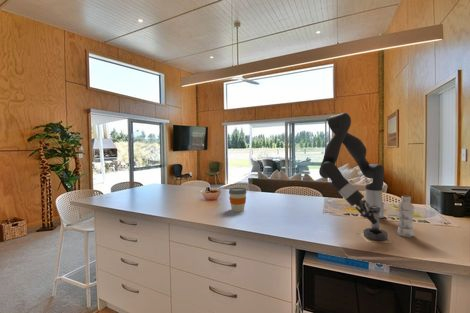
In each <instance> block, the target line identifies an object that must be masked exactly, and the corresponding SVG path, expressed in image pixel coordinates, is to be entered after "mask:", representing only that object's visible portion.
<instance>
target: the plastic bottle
mask: <svg viewBox="0 0 470 313" xmlns="http://www.w3.org/2000/svg"><path fill="white" fill-rule="evenodd" d="M414 206H415V205H413V203H412V197H411V196H409V195H401V201H400V202H399V203H398V206H397V209H398V227H397V231H396V232H397V235H398V236H400V237H404V238H413V237H414V234H415V233H414V227H413V226H414V224H413V218H414V212H415V207H414Z"/></svg>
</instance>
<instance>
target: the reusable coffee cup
mask: <svg viewBox="0 0 470 313" xmlns="http://www.w3.org/2000/svg"><path fill="white" fill-rule="evenodd" d="M228 194H229V203H230V207H231V211H232V212H243V211H245V206H246V200H247V188H245V187H231V188H229V190H228Z"/></svg>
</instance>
